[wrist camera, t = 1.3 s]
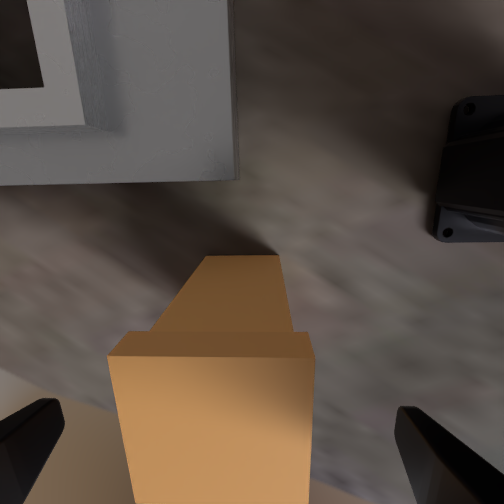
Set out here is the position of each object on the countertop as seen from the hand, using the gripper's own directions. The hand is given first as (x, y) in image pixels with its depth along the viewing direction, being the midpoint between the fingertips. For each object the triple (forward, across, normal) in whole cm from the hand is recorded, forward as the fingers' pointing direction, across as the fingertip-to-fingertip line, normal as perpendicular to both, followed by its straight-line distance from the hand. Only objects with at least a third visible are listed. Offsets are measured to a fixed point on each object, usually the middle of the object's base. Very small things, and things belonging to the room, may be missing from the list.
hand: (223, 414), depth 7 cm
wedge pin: (+8, 0, 0) cm, 8 cm away
